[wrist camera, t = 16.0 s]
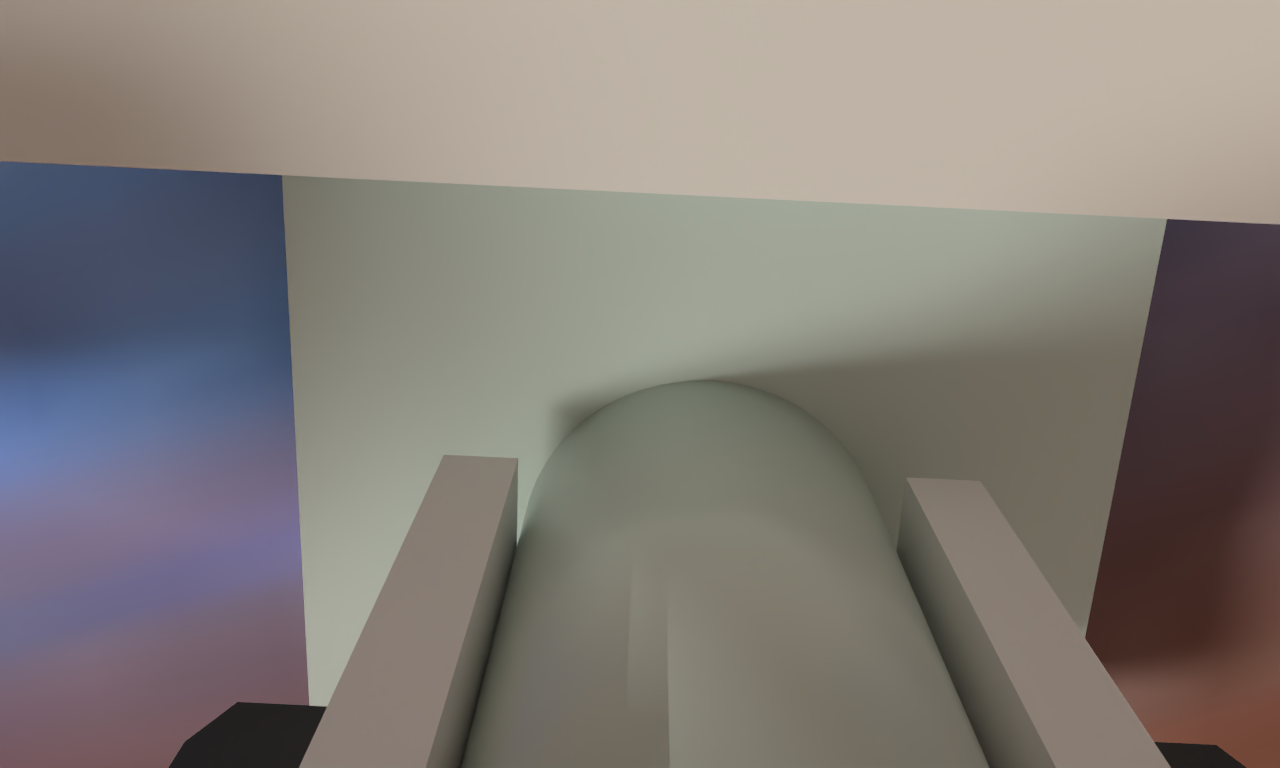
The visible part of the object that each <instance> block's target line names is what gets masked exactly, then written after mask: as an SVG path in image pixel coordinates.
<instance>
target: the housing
mask: <svg viewBox="0 0 1280 768" xmlns="http://www.w3.org/2000/svg"><path fill="white" fill-rule="evenodd" d="M0 161H7V162H27V163H47V164H68V165H88V166H108V167H128V168H148V169H169V170H189V171H209V172H229V173H249V174H270V175H290V176H310V177H330V178H350V179H371V180H391V181H411V182H431V183H451V184H472V185H492V186H512V187H532V188H552V189H573V190H593V191H613V192H633V193H653V194H674V195H694V196H714V197H734V198H754V199H775V200H795V201H815V202H835V203H855V204H876V205H896V206H916V207H936V208H956V209H977V210H997V211H1017V212H1037V213H1057V214H1078V215H1098V216H1118V217H1138V218H1158V219H1179V220H1199V221H1219V222H1239V223H1259V224H1280V0H0Z"/></svg>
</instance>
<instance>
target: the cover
mask: <svg viewBox="0 0 1280 768" xmlns="http://www.w3.org/2000/svg"><path fill="white" fill-rule="evenodd" d="M282 188H283V207H284V226H285V246H286V265H287V284H288V303H289V322H290V341H291V360H292V380H293V399H294V418H295V437H296V456H297V475H298V494H299V514H300V533H301V552H302V571H303V590H304V609H305V628H306V648H307V667H308V686H309V705H310V706H326V707H327V706H328V704H329V702H330V699H331V697H332V695H333V693H334V691H335V689H336V686H337V684H338V682H339V680H340V678H341V676H342V673H343V671H344V669H345V667H346V665H347V663H348V660H349V658H350V656H351V654H352V652H353V650H354V648H355V645H356V643H357V641H358V639H359V637H360V635H361V632H362V630H363V628H364V626H365V624H366V622H367V619H368V617H369V615H370V613H371V611H372V609H373V606H374V604H375V602H376V600H377V598H378V596H379V594H380V591H381V589H382V587H383V585H384V583H385V581H386V578H387V576H388V574H389V572H390V570H391V568H392V565H393V563H394V561H395V559H396V557H397V555H398V552H399V550H400V548H401V546H402V544H403V542H404V540H405V537H406V535H407V533H408V531H409V529H410V527H411V524H412V522H413V520H414V518H415V516H416V514H417V511H418V509H419V507H420V505H421V503H422V501H423V498H424V496H425V494H426V492H427V490H428V488H429V486H430V483H431V481H432V479H433V477H434V475H435V473H436V470H437V468H438V466H439V464H440V462H441V460H442V457H443V455H461V456H482V457H502V458H518V504H517V548H516V552H515V556H514V560H513V564H512V568H511V572H510V576H509V580H508V584H507V588H506V592H505V596H504V600H503V604H502V607H501V611H500V615H499V619H498V623H497V627H496V631H495V635H494V639H493V643H492V647H491V651H490V655H489V659H488V663H487V667H486V671H485V675H484V678H483V682H482V686H481V690H480V694H479V698H478V702H477V706H476V710H475V714H474V718H473V722H472V726H471V730H470V734H469V738H468V742H467V746H466V749H465V753H464V757H463V761H462V765H461V768H990V767H989V765H988V763H987V760H986V758H985V756H984V753H983V751H982V749H981V746H980V744H979V742H978V739H977V737H976V735H975V733H974V730H973V728H972V726H971V723H970V721H969V719H968V716H967V714H966V712H965V709H964V707H963V705H962V702H961V700H960V698H959V696H958V693H957V691H956V689H955V686H954V684H953V682H952V679H951V677H950V675H949V672H948V670H947V668H946V665H945V663H944V661H943V658H942V656H941V654H940V652H939V649H938V647H937V645H936V642H935V640H934V638H933V635H932V633H931V631H930V628H929V626H928V624H927V621H926V619H925V617H924V614H923V612H922V610H921V608H920V605H919V603H918V601H917V598H916V596H915V594H914V591H913V589H912V587H911V584H910V582H909V580H908V577H907V575H906V573H905V570H904V568H903V566H902V564H901V561H900V559H899V557H898V554H897V552H896V550H897V542H898V535H899V527H900V519H901V512H902V504H903V497H904V489H905V482H906V477H910V478H931V479H951V480H971V481H981V483H982V484H983V486H984V487H985V489H986V490H987V492H988V493H989V495H990V496H991V498H992V499H993V501H994V502H995V504H996V505H997V507H998V508H999V510H1000V511H1001V513H1002V514H1003V516H1004V517H1005V519H1006V520H1007V522H1008V523H1009V525H1010V526H1011V528H1012V529H1013V531H1014V532H1015V534H1016V535H1017V537H1018V538H1019V540H1020V541H1021V543H1022V544H1023V546H1024V547H1025V549H1026V550H1027V552H1028V553H1029V555H1030V556H1031V558H1032V559H1033V561H1034V562H1035V564H1036V565H1037V567H1038V568H1039V570H1040V571H1041V573H1042V574H1043V576H1044V577H1045V579H1046V580H1047V582H1048V583H1049V585H1050V586H1051V588H1052V589H1053V591H1054V592H1055V594H1056V595H1057V597H1058V598H1059V600H1060V602H1061V603H1062V605H1063V606H1064V608H1065V609H1066V611H1067V612H1068V614H1069V615H1070V617H1071V618H1072V620H1073V621H1074V623H1075V624H1076V626H1077V627H1078V629H1079V630H1080V632H1081V633H1082V635H1083V636H1084V638H1085V635H1086V630H1087V625H1088V620H1089V615H1090V610H1091V605H1092V600H1093V595H1094V589H1095V584H1096V579H1097V574H1098V569H1099V564H1100V559H1101V554H1102V549H1103V544H1104V538H1105V533H1106V528H1107V523H1108V518H1109V513H1110V508H1111V503H1112V498H1113V492H1114V487H1115V482H1116V477H1117V472H1118V467H1119V462H1120V457H1121V452H1122V447H1123V441H1124V436H1125V431H1126V426H1127V421H1128V416H1129V411H1130V406H1131V401H1132V395H1133V390H1134V385H1135V380H1136V375H1137V370H1138V365H1139V360H1140V355H1141V350H1142V344H1143V339H1144V334H1145V329H1146V324H1147V319H1148V314H1149V309H1150V304H1151V299H1152V293H1153V288H1154V283H1155V278H1156V273H1157V268H1158V263H1159V258H1160V253H1161V247H1162V242H1163V237H1164V232H1165V227H1166V222H1167V219H1158V218H1138V217H1118V216H1098V215H1078V214H1057V213H1037V212H1017V211H997V210H977V209H956V208H936V207H916V206H896V205H876V204H855V203H835V202H815V201H795V200H775V199H754V198H734V197H714V196H694V195H674V194H653V193H633V192H613V191H593V190H573V189H552V188H532V187H512V186H492V185H472V184H451V183H431V182H411V181H391V180H371V179H350V178H330V177H310V176H290V175H282Z"/></svg>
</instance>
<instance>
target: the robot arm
mask: <svg viewBox="0 0 1280 768" xmlns="http://www.w3.org/2000/svg"><path fill="white" fill-rule="evenodd" d="M517 504H518V458H502V457H482V456H461V455H443V457H442V460H441V462H440V464H439V466H438V468H437V470H436V473H435V475H434V477H433V479H432V481H431V483H430V486H429V488H428V490H427V492H426V494H425V496H424V498H423V501H422V503H421V505H420V507H419V509H418V511H417V514H416V516H415V518H414V520H413V522H412V524H411V527H410V529H409V531H408V533H407V535H406V537H405V540H404V542H403V544H402V546H401V548H400V550H399V552H398V555H397V557H396V559H395V561H394V563H393V565H392V568H391V570H390V572H389V574H388V576H387V578H386V581H385V583H384V585H383V587H382V589H381V591H380V594H379V596H378V598H377V600H376V602H375V604H374V606H373V609H372V611H371V613H370V615H369V617H368V619H367V622H366V624H365V626H364V628H363V630H362V632H361V635H360V637H359V639H358V641H357V643H356V645H355V648H354V650H353V652H352V654H351V656H350V658H349V660H348V663H347V665H346V667H345V669H344V671H343V673H342V676H341V678H340V680H339V682H338V684H337V686H336V689H335V691H334V693H333V695H332V697H331V699H330V702H329V704H328V706H327V707H326V706H306V705H285V704H264V703H244V702H237V703H236V704H235V705H233V706H232V707H231V708H229V709H228V710H227V711H225V712H224V713H223V714H221V715H220V716H219V717H217V718H216V719H215V720H213V721H212V722H211V723H209V724H208V725H207V726H205V727H204V728H203V729H201V730H200V731H199V732H197V733H196V734H195V735H194V736H192V737H191V738H190V739H188V740H187V741H186V742H185V743H184V744H183V746H182V747H181V749H180V750H179V752H178V754H177V755H176V757H175V758H174V760H173V762H172V763H171V765H170V766H169V768H461V765H462V761H463V757H464V753H465V749H466V746H467V742H468V738H469V734H470V730H471V726H472V722H473V718H474V714H475V710H476V706H477V702H478V698H479V694H480V690H481V686H482V682H483V678H484V675H485V671H486V667H487V663H488V659H489V655H490V651H491V647H492V643H493V639H494V635H495V631H496V627H497V623H498V619H499V615H500V611H501V607H502V604H503V600H504V596H505V592H506V588H507V584H508V580H509V576H510V572H511V568H512V564H513V560H514V556H515V552H516V548H517ZM896 552H897V554H898V557H899V559H900V561H901V564H902V566H903V568H904V570H905V573H906V575H907V577H908V580H909V582H910V584H911V587H912V589H913V591H914V594H915V596H916V598H917V601H918V603H919V605H920V608H921V610H922V612H923V614H924V617H925V619H926V621H927V624H928V626H929V628H930V631H931V633H932V635H933V638H934V640H935V642H936V645H937V647H938V649H939V652H940V654H941V656H942V658H943V661H944V663H945V665H946V668H947V670H948V672H949V675H950V677H951V679H952V682H953V684H954V686H955V689H956V691H957V693H958V696H959V698H960V700H961V702H962V705H963V707H964V709H965V712H966V714H967V716H968V719H969V721H970V723H971V726H972V728H973V730H974V733H975V735H976V737H977V739H978V742H979V744H980V746H981V749H982V751H983V753H984V756H985V758H986V760H987V763H988V765H989V767H990V768H1246V767H1245V766H1244V765H1242V764H1241V763H1239V762H1238V761H1237V760H1235V759H1234V758H1233V757H1231V756H1230V755H1229V754H1227V753H1226V752H1225V751H1223V750H1222V749H1221V748H1219V747H1218V746H1217V745H1202V744H1182V743H1161V742H1154V741H1153V740H1152V738H1151V737H1150V735H1149V734H1148V732H1147V731H1146V729H1145V728H1144V726H1143V725H1142V723H1141V722H1140V720H1139V719H1138V717H1137V716H1136V714H1135V713H1134V711H1133V710H1132V708H1131V707H1130V705H1129V704H1128V702H1127V701H1126V699H1125V698H1124V696H1123V695H1122V693H1121V692H1120V690H1119V689H1118V687H1117V686H1116V684H1115V683H1114V681H1113V680H1112V678H1111V677H1110V675H1109V674H1108V672H1107V671H1106V669H1105V668H1104V666H1103V665H1102V663H1101V662H1100V660H1099V659H1098V657H1097V656H1096V654H1095V653H1094V651H1093V650H1092V648H1091V647H1090V645H1089V644H1088V642H1087V641H1086V639H1085V638H1084V636H1083V635H1082V633H1081V632H1080V630H1079V629H1078V627H1077V626H1076V624H1075V623H1074V621H1073V620H1072V618H1071V617H1070V615H1069V614H1068V612H1067V611H1066V609H1065V608H1064V606H1063V605H1062V603H1061V602H1060V600H1059V598H1058V597H1057V595H1056V594H1055V592H1054V591H1053V589H1052V588H1051V586H1050V585H1049V583H1048V582H1047V580H1046V579H1045V577H1044V576H1043V574H1042V573H1041V571H1040V570H1039V568H1038V567H1037V565H1036V564H1035V562H1034V561H1033V559H1032V558H1031V556H1030V555H1029V553H1028V552H1027V550H1026V549H1025V547H1024V546H1023V544H1022V543H1021V541H1020V540H1019V538H1018V537H1017V535H1016V534H1015V532H1014V531H1013V529H1012V528H1011V526H1010V525H1009V523H1008V522H1007V520H1006V519H1005V517H1004V516H1003V514H1002V513H1001V511H1000V510H999V508H998V507H997V505H996V504H995V502H994V501H993V499H992V498H991V496H990V495H989V493H988V492H987V490H986V489H985V487H984V486H983V484H982V483H981V481H971V480H951V479H931V478H910V477H906V482H905V489H904V497H903V504H902V512H901V519H900V527H899V535H898V542H897V550H896Z"/></svg>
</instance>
